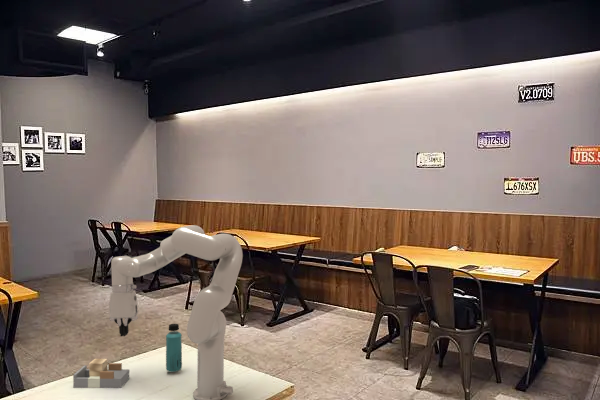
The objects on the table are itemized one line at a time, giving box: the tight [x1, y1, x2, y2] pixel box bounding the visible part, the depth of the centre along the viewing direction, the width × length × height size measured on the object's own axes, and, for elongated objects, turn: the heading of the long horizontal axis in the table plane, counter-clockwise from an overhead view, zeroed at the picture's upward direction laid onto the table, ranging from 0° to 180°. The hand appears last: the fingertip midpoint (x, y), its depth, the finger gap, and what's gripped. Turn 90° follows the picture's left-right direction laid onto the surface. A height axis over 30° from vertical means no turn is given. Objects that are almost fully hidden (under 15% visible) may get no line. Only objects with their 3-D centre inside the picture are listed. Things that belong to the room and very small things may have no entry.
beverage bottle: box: [165, 323, 183, 373], centre depth 192 cm, size 6×7×20 cm
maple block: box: [88, 358, 109, 376], centre depth 181 cm, size 5×5×5 cm
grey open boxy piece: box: [72, 362, 130, 389], centre depth 181 cm, size 18×9×6 cm, turn 91°
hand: (124, 335), depth 180 cm, fingers closed
